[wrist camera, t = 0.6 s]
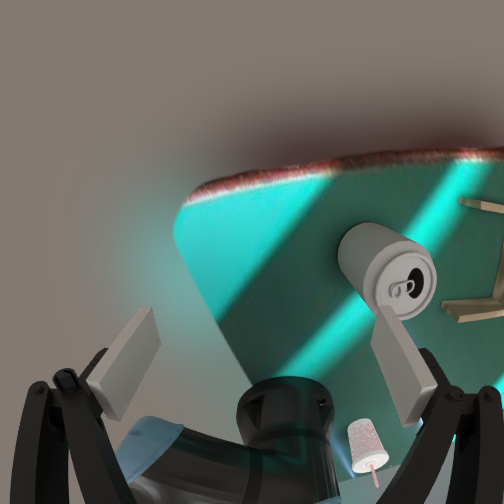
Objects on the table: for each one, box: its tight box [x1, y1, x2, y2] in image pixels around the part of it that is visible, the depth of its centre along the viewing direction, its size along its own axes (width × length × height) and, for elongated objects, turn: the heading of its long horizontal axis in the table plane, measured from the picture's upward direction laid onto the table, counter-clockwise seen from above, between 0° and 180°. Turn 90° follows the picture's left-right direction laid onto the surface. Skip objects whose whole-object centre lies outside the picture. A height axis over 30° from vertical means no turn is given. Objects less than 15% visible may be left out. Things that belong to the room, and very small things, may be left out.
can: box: [338, 223, 437, 321], centre depth 27 cm, size 8×8×12 cm
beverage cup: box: [347, 419, 389, 488], centre depth 34 cm, size 6×6×14 cm
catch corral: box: [441, 197, 504, 323], centre depth 29 cm, size 16×13×5 cm
